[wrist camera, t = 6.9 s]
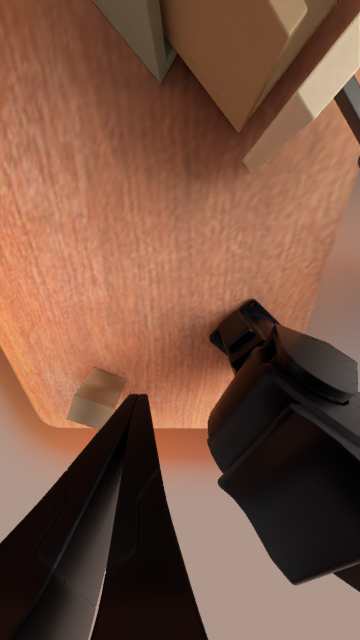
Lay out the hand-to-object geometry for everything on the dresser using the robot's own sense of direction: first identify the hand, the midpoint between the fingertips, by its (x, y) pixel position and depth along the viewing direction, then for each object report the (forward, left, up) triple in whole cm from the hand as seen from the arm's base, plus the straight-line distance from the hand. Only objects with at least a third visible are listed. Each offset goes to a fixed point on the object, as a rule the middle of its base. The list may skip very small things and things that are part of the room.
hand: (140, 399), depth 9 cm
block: (-1, +14, -12) cm, 19 cm away
